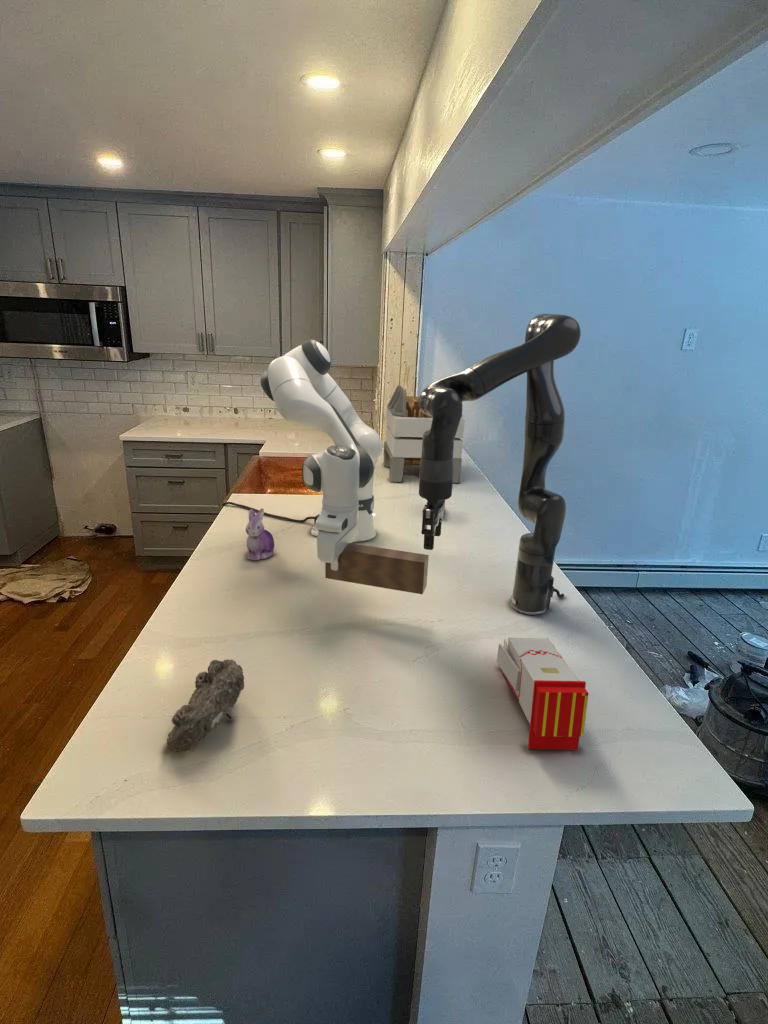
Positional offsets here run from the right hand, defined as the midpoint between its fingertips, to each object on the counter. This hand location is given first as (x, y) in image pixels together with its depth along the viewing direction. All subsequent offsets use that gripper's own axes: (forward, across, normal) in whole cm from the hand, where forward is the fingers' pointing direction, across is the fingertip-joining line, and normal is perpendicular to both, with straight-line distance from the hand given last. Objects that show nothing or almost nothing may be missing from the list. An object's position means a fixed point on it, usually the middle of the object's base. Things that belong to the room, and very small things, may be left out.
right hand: (432, 542), depth 133 cm
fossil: (+22, -46, +32) cm, 60 cm away
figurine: (+23, +24, +59) cm, 67 cm away
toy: (+24, -20, -26) cm, 41 cm away
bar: (+13, 0, +14) cm, 19 cm away
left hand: (+10, 0, +24) cm, 25 cm away
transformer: (+25, +138, +34) cm, 144 cm away
